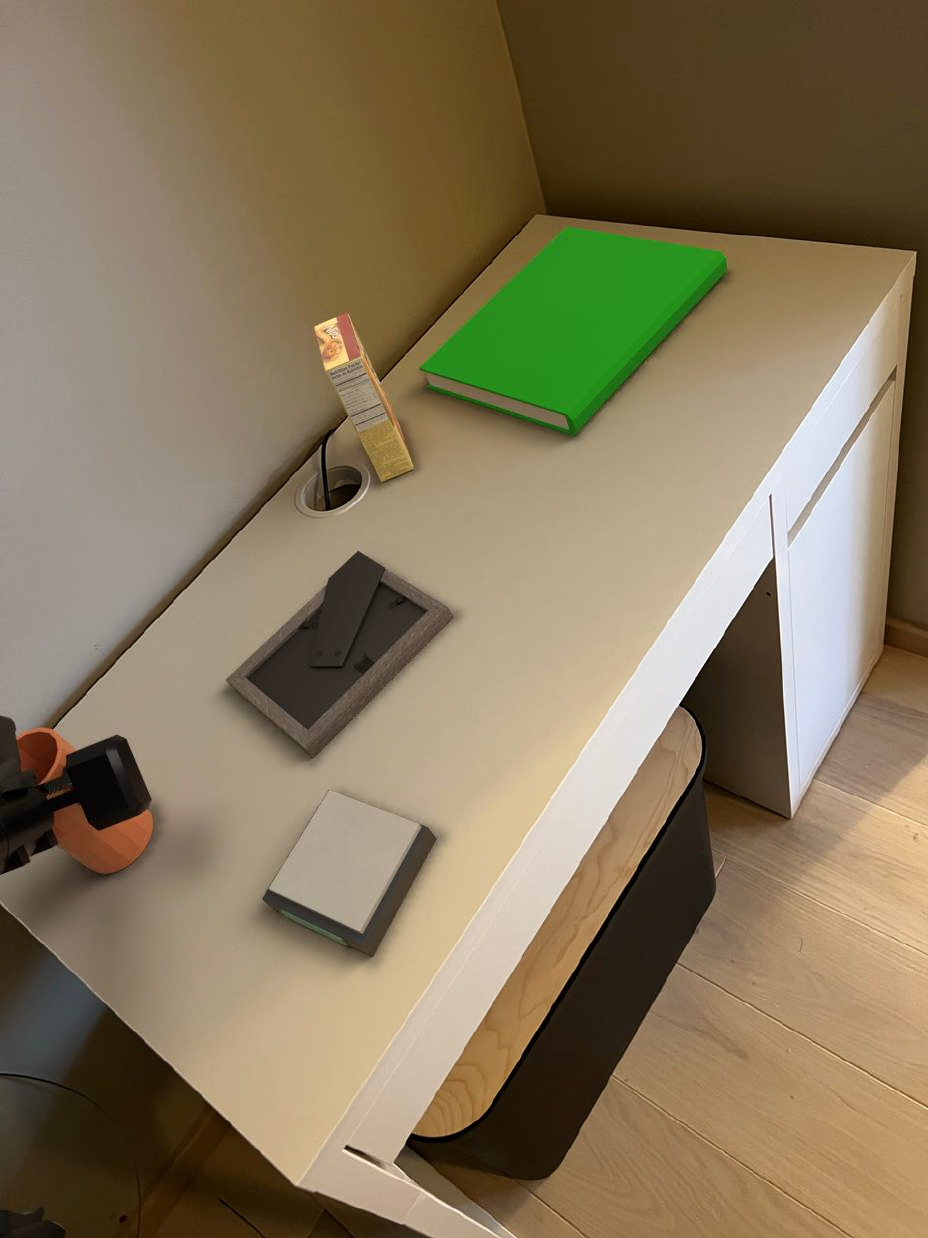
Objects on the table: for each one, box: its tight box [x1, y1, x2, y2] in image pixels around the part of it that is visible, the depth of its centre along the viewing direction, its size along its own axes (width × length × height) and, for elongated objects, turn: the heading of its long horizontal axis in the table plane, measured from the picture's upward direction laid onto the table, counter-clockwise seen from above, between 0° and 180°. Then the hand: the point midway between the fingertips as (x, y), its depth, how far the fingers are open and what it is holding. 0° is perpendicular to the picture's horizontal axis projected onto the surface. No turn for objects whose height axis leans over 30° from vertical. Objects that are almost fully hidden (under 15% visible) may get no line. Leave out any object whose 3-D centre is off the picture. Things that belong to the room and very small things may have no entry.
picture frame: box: [225, 550, 454, 759], centre depth 90 cm, size 13×2×18 cm
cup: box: [16, 727, 154, 875], centre depth 80 cm, size 7×7×13 cm
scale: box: [261, 789, 437, 958], centre depth 75 cm, size 10×10×3 cm
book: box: [418, 226, 728, 437], centre depth 109 cm, size 22×28×3 cm
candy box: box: [313, 312, 414, 483], centre depth 101 cm, size 9×4×15 cm, turn 15°
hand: (74, 788), depth 81 cm, fingers closed on cup, 7 cm apart
